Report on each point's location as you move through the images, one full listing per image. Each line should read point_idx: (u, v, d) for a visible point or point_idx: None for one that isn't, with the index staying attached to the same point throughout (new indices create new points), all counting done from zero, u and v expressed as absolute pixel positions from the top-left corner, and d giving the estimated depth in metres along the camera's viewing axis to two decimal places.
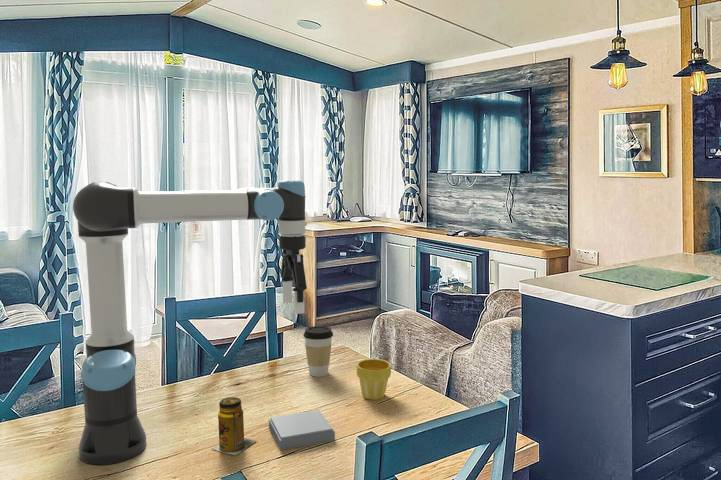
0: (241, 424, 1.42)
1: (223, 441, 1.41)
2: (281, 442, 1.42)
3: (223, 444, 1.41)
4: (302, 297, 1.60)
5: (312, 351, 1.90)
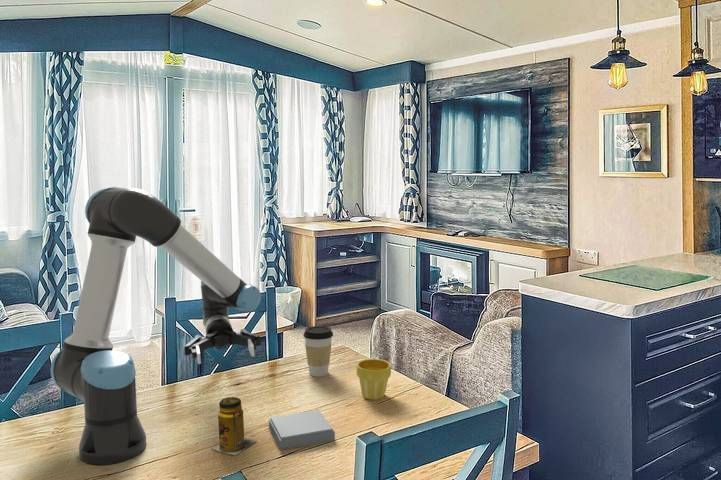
0: (241, 424, 1.42)
1: (223, 441, 1.41)
2: (281, 442, 1.42)
3: (223, 444, 1.41)
4: None
5: (312, 351, 1.90)
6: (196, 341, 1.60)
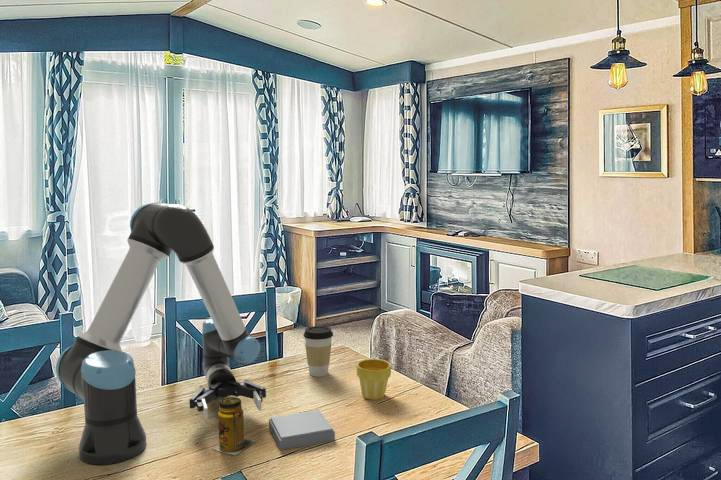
0: (241, 424, 1.42)
1: (223, 441, 1.41)
2: (281, 442, 1.42)
3: (223, 444, 1.41)
4: (261, 399, 1.57)
5: (312, 351, 1.90)
6: (200, 393, 1.58)
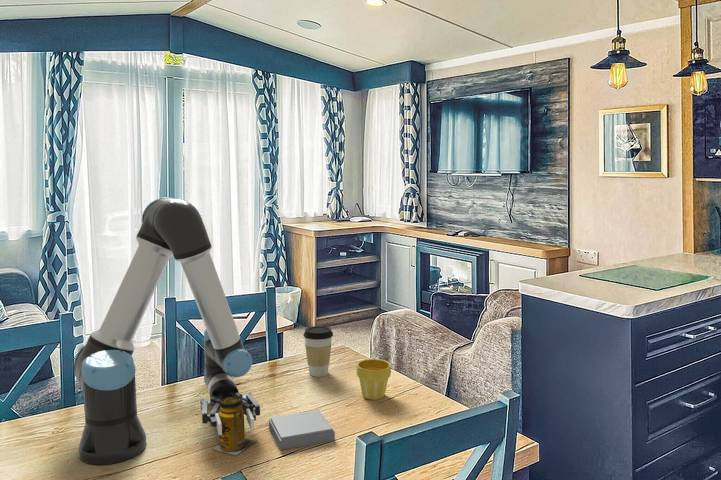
0: (242, 424, 1.42)
1: (223, 441, 1.41)
2: (281, 442, 1.42)
3: (224, 443, 1.41)
4: None
5: (312, 351, 1.90)
6: (207, 406, 1.49)
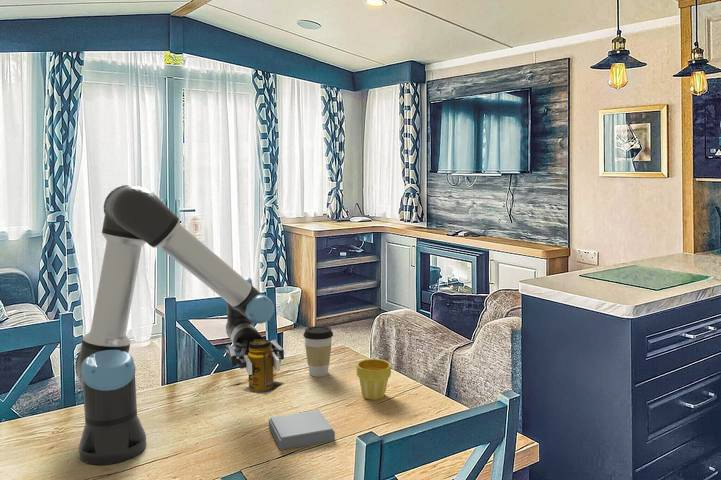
0: (271, 365, 1.43)
1: (253, 382, 1.42)
2: (281, 442, 1.42)
3: (253, 384, 1.42)
4: None
5: (312, 351, 1.90)
6: (234, 351, 1.50)
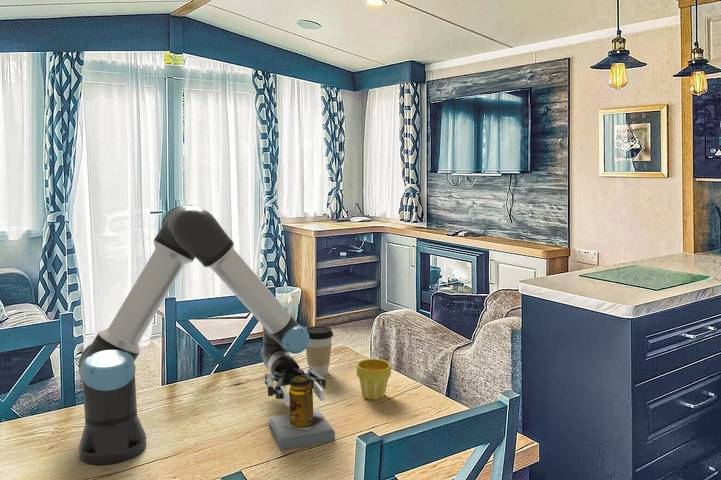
0: (311, 401, 1.48)
1: (295, 418, 1.47)
2: (281, 442, 1.42)
3: (295, 420, 1.47)
4: None
5: (312, 351, 1.90)
6: (271, 380, 1.54)
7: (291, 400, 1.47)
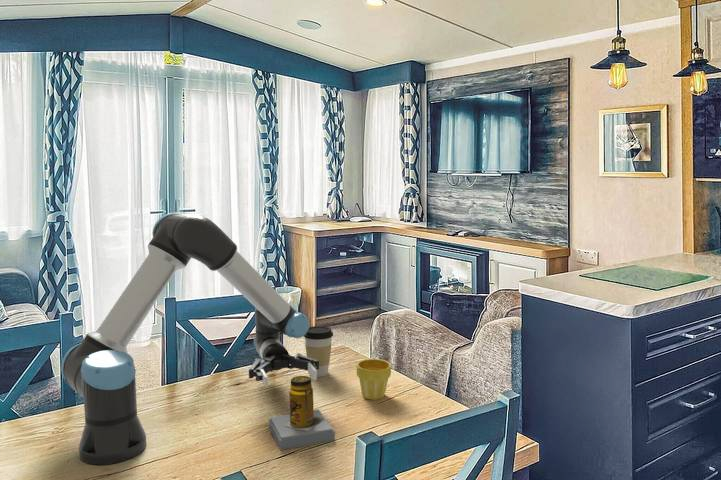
0: (312, 401, 1.48)
1: (295, 418, 1.47)
2: (281, 442, 1.42)
3: (295, 420, 1.47)
4: None
5: (312, 351, 1.90)
6: (257, 364, 1.66)
7: (291, 400, 1.47)
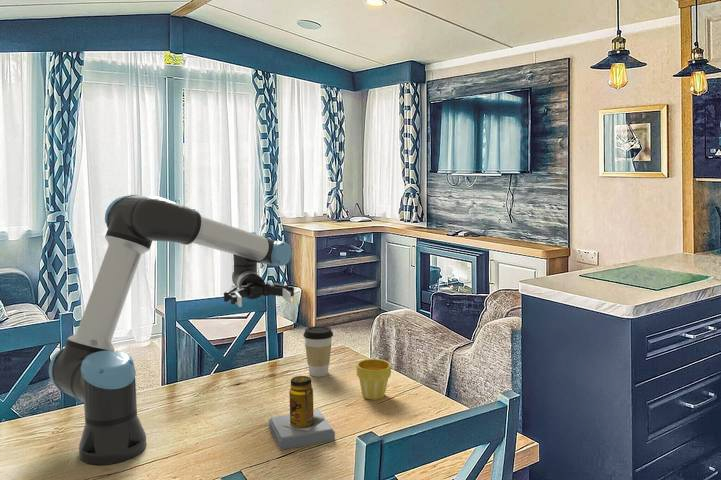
0: (312, 401, 1.48)
1: (295, 418, 1.47)
2: (281, 442, 1.42)
3: (295, 420, 1.47)
4: None
5: (312, 351, 1.90)
6: (233, 290, 1.69)
7: (291, 400, 1.47)
